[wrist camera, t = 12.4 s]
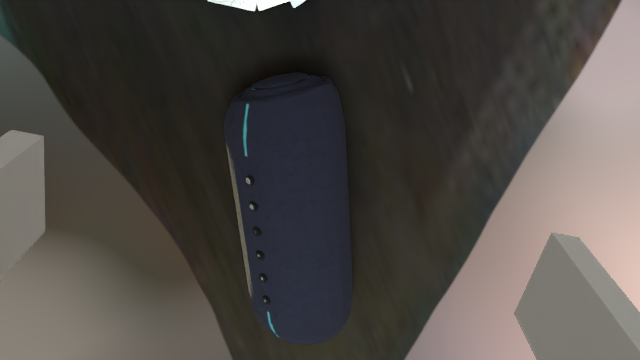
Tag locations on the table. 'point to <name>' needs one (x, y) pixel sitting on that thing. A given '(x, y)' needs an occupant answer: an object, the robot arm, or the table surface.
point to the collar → (255, 3)
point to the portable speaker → (293, 204)
